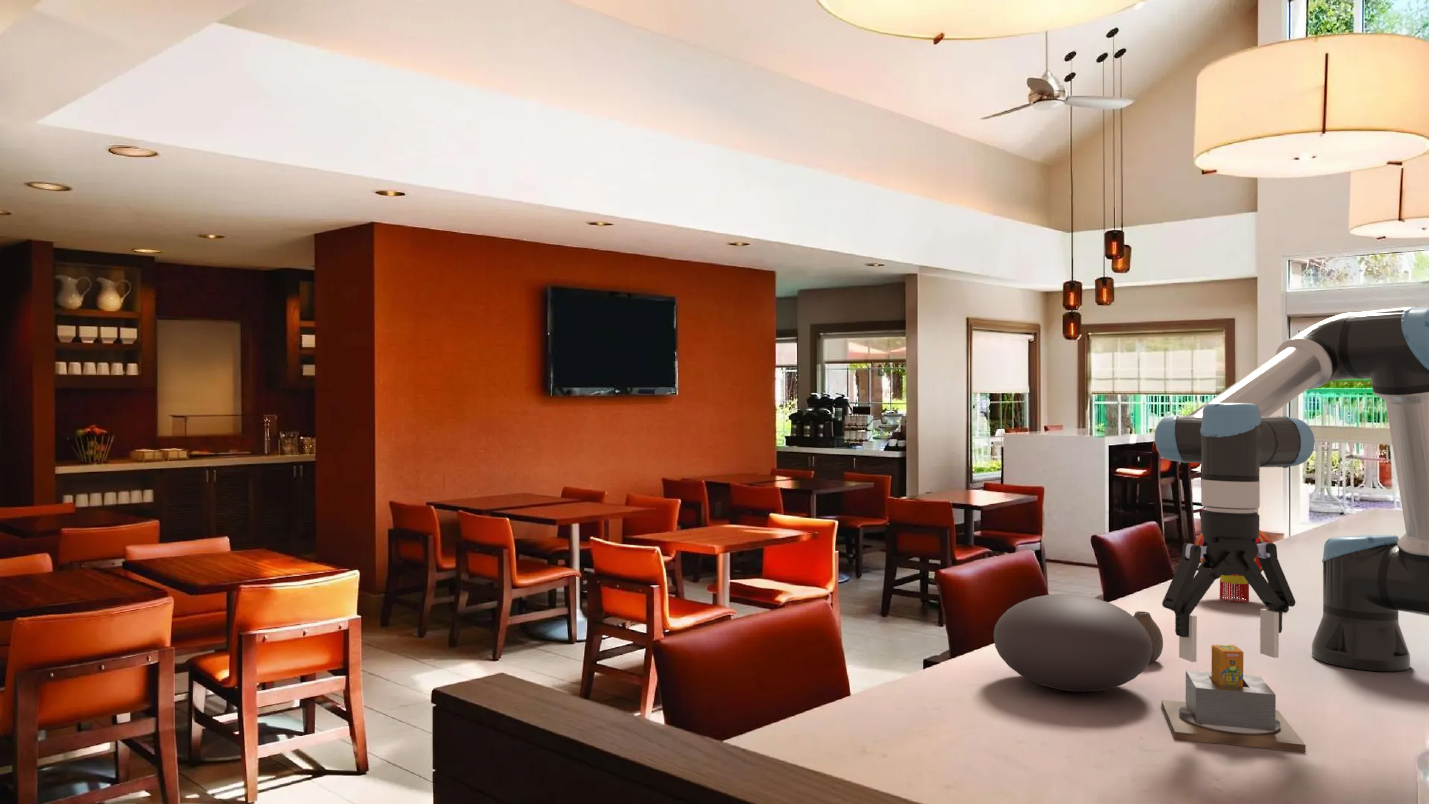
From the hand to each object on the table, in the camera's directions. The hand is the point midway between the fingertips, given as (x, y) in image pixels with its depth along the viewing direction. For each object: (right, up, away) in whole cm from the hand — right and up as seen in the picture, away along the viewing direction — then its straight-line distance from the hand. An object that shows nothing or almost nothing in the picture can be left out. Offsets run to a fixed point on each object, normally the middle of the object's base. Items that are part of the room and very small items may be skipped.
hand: (1228, 657), depth 144 cm
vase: (+4, -11, +39) cm, 40 cm away
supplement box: (0, -9, 0) cm, 9 cm away
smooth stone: (-15, -10, +21) cm, 28 cm away
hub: (0, -10, 0) cm, 10 cm away
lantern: (+52, -11, +98) cm, 111 cm away
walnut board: (0, -10, 0) cm, 10 cm away
